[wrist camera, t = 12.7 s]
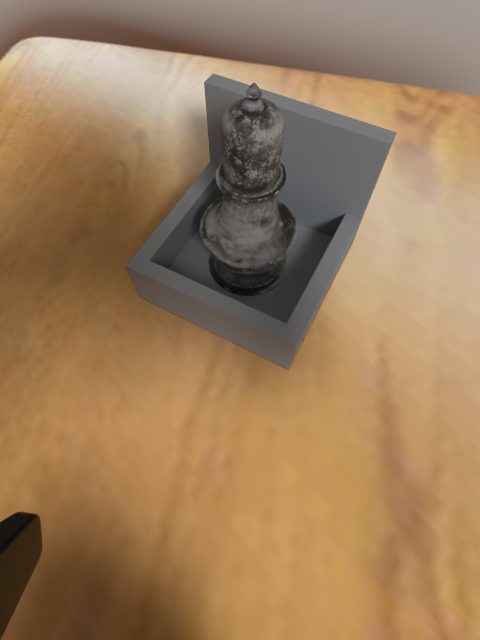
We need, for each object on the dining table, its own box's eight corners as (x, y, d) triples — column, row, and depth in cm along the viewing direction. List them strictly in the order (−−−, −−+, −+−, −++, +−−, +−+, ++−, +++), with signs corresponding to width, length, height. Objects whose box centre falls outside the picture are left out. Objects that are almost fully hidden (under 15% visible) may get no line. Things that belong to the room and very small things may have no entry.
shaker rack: (288, 369, 24) (313, 291, 16) (139, 296, 26) (95, 196, 18) (352, 243, 28) (396, 132, 20) (219, 190, 31) (212, 73, 23)
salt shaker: (186, 267, 26) (149, 89, 15) (241, 215, 28) (243, 28, 18) (255, 316, 24) (267, 154, 14) (309, 257, 26) (355, 77, 16)
